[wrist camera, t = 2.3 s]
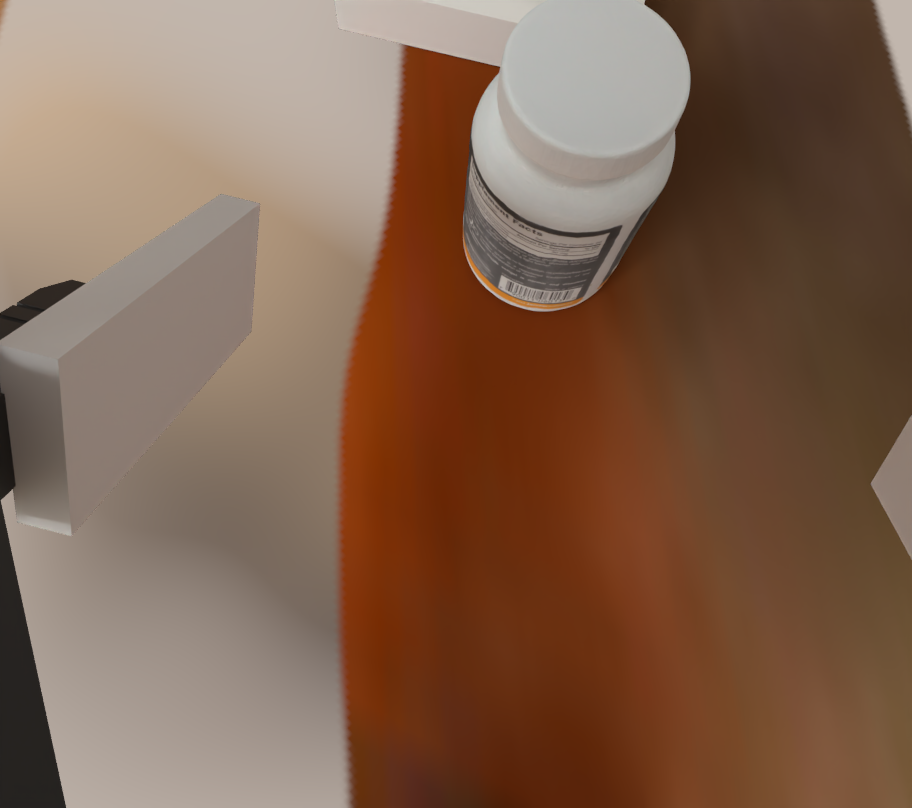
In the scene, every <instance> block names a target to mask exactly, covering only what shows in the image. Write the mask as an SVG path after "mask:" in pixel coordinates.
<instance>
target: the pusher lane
mask: <svg viewBox="0 0 912 808" xmlns="http://www.w3.org/2000/svg"><path fill="white" fill-rule="evenodd" d="M545 1H547V0H334V3H335V9H336V16H337V23H338V28H339V29H341V30H345V31H349V32H353V33H358V34H362V35H366V36H370V37H375V38H379V39H383V40H388V41H392V42H396V43H400V44H405V45H409V46H413V47H418V48H422V49H426V50H430V51H435V52H439V53H443V54H448V55H452V56H456V57H460V58H465V59H469V60H473V61H478V62H482V63H486V64H490V65H495V66H499V67H500V66H501V60H502V56H503V52H504V49H505V46H506V43H507V41H508V39H509V37H510V35H511V33H512V31H513V30H514V28H515V27H516V25H517V24H518V23H519V22H520V20H521V19H522V18H523V17H524V16H525V15H526V14H527V13H528V12H529V11H531V10H532V9H533V8H535V7H536V6H537V5H539V4H541V3H543V2H545ZM636 1H638V2H640V3H642V4H644V3H645V0H636Z"/></svg>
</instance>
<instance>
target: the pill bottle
mask: <svg viewBox="0 0 912 808" xmlns="http://www.w3.org/2000/svg"><path fill="white" fill-rule="evenodd" d="M689 91H690V68H689V63H688V59H687V55H686V52H685V50H684V48H683V46H682V44H681V42H680V40H679V38H678V37H677V35H676V33H675V32H674V31H673V29H672V28H671V27H670V25H669V24H668V23H667V22H666V21H665V20H664V19H663V18H662V17H660V16H659V15H658V14H657V13H656V12H654V11H653V10H652V9H650V8H649V7H647V6H646V5H644V4H642V3H640V2H638V1H636V0H547V1H545V2H543V3H541V4H539V5H537V6H536V7H535V8H533V9H532V10H531V11H529V12H528V13H527V14H526V15H525V16H524V17H523V18H522V19H521V20H520V22H519V23H518V24H517V25H516V27H515V28H514V30H513V31H512V33H511V35H510V37H509V39H508V41H507V43H506V46H505V49H504V52H503V56H502V60H501V66H500V72H499V74H498V75H497V76H496V77H495V78H494V79H493V81H492V82H491V83H490V84H489V86H488V87H487V89H486V91H485V92H484V94H483V96H482V98H481V100H480V102H479V104H478V107H477V109H476V112H475V115H474V118H473V123H472V128H471V134H470V144H469V150H470V152H469V161H468V170H467V180H466V192H465V206H464V215H463V243H464V249H465V254H466V257H467V260H468V263H469V265H470V267H471V269H472V271H473V272H474V274H475V276H476V277H477V279H478V280H479V281H480V282H481V284H482V285H483V286H484V287H485V288H486V289H488V290H489V291H490V292H491V293H492V294H494V295H495V296H496V297H498V298H499V299H501V300H503V301H504V302H506V303H508V304H511V305H513V306H516V307H519V308H523V309H527V310H532V311H555V310H561V309H565V308H569V307H572V306H575V305H577V304H580V303H581V302H583V301H585V300H586V299H588V298H589V297H591V296H592V295H593V294H595V293H596V292H597V291H598V290H599V289H600V288H601V287H602V286H603V284H604V283H605V282H606V281H607V280H608V278H609V277H610V276H611V274H612V273H613V271H614V270H615V268H616V267H617V266H618V264H619V262H620V260H621V258H622V256H623V255H624V253H625V251H626V250H627V248H628V246H629V245H630V243H631V241H632V239H633V238H634V236H635V234H636V233H637V231H638V229H639V228H640V226H641V225H642V223H643V221H644V220H645V218H646V216H647V215H648V213H649V211H650V210H651V208H652V207H653V205H654V203H655V202H656V200H657V198H658V196H659V195H660V193H661V192H662V191H663V189H664V187H665V185H666V183H667V180H668V177H669V175H670V172H671V169H672V164H673V160H674V153H675V128H676V126H677V124H678V122H679V120H680V118H681V116H682V114H683V112H684V109H685V107H686V104H687V100H688V97H689Z"/></svg>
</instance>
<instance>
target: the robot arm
mask: <svg viewBox="0 0 912 808" xmlns="http://www.w3.org/2000/svg"><path fill="white" fill-rule="evenodd" d="M259 211H260V203H256V202H252V201H248V200H244V199H240V198H236V197H231V196H228V195H223V194H220V195H219V196H217V197H216V198H214V199H213V200H211V201H210V202H208V203H207V204H205V205H204V206H202V207H201V208H199V209H198V210H196V211H195V212H193V213H191V214H190V215H188V216H187V217H185V218H184V219H182V220H181V221H179V222H178V223H176V224H175V225H173V226H172V227H170V228H169V229H167V230H166V231H164V232H163V233H161V234H160V235H158V236H157V237H155V238H154V239H152V240H151V241H149V242H148V243H146V244H145V245H143V246H142V247H140V248H139V249H137V250H136V251H134V252H133V253H131V254H130V255H128V256H127V257H125V258H124V259H122V260H121V261H119V262H118V263H116V264H115V265H113V266H112V267H110V268H108V269H107V270H105V271H104V272H102V273H101V274H99V275H98V276H97V277H95V278H93V279H92V280H90V281H89V282H88V283H82V282H79V281H74V280H69V281H66V282H62V283H58V284H55V285H51V286H48V287H44V288H40V289H38V290H37V291H35V292H34V293H32V294H30V295H29V296H27V297H25V298H24V299H22V300H21V301H19V302H17V306H14V305H12V306H11V307H9V308H8V309H6V310H4V311H3V312H1V313H0V808H66V805H65V801H64V796H63V791H62V786H61V781H60V777H59V772H58V768H57V763H56V759H55V753H54V749H53V744H52V739H51V735H50V730H49V726H48V721H47V716H46V711H45V707H44V702H43V697H42V692H41V688H40V683H39V678H38V674H37V669H36V664H35V660H34V655H33V650H32V646H31V641H30V636H29V632H28V627H27V623H26V617H25V613H24V608H23V603H22V599H21V594H20V589H19V585H18V580H17V575H16V571H15V566H14V561H13V557H12V552H11V547H10V543H9V538H8V533H7V528H6V524H5V519H4V514H3V510H2V505H1V499H2V498H4V497H5V496H6V495H7V494H8V493H9V492H10V491H11V490H12V489H13V493H14V500H15V509H16V517H17V522H18V523H21V524H25V525H29V526H33V527H37V528H42V529H45V530H49V531H53V532H57V533H61V534H65V535H69V536H72V535H73V534H74V533H75V532H76V531H77V530H78V528H79V527H80V526H81V525H82V524H83V523H84V521H85V520H86V519H87V518H88V517H89V516H90V515H91V513H92V512H93V511H94V510H95V509H96V508H97V507H98V506H99V505H100V503H101V502H102V501H103V500H104V499H105V498H106V497H107V495H108V494H109V493H110V492H111V491H112V490H113V489H114V487H115V486H116V485H117V484H118V483H119V482H120V481H121V479H122V478H123V477H124V476H125V475H126V474H127V473H128V471H129V470H130V469H131V468H132V467H133V466H134V465H135V464H136V462H137V461H138V460H139V459H140V458H141V457H142V456H143V454H144V453H145V452H146V451H147V450H148V449H149V448H150V446H151V445H152V444H153V443H154V442H155V441H156V440H157V438H158V437H159V436H160V435H161V434H162V433H163V432H164V430H165V429H166V428H167V427H168V426H169V425H170V424H171V423H172V421H173V420H174V419H175V418H176V417H177V416H178V415H179V413H180V412H181V411H182V410H183V409H184V408H185V406H186V405H187V404H188V403H189V402H190V401H191V400H192V399H193V397H194V396H195V395H196V394H197V393H198V392H199V391H200V389H201V388H202V387H203V386H204V385H205V384H206V382H207V381H208V380H209V379H210V378H211V377H212V376H213V375H214V374H215V372H216V371H217V370H218V369H219V368H220V367H221V366H222V364H223V363H224V362H225V361H226V360H227V358H228V357H229V356H230V355H231V354H232V353H233V352H234V351H235V350H236V348H237V347H238V346H239V345H240V344H241V343H242V342H243V340H244V339H245V338H246V337H247V336H248V335H249V333H251V328H252V312H253V298H254V284H255V269H256V254H257V240H258V225H259V224H258V223H259ZM871 486H872V487H873V489H874V491H875V493H876V495H877V497H878V499H879V500H880V502H881V504H882V506H883V508H884V510H885V511H886V513H887V515H888V517H889V519H890V521H891V522H892V524H893V526H894V528H895V530H896V532H897V533H898V535H899V537H900V539H901V541H902V543H903V544H904V546H905V548H906V550H907V552H908V554H909V555H910V557H911V559H912V415H911V417H910V419H909V420H908V422H907V424H906V425H905V427H904V429H903V430H902V432H901V434H900V435H899V437H898V439H897V440H896V442H895V444H894V445H893V447H892V449H891V450H890V452H889V454H888V455H887V457H886V459H885V460H884V462H883V464H882V465H881V467H880V469H879V470H878V472H877V474H876V475H875V477H874V479H873V480H872V482H871Z"/></svg>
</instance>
